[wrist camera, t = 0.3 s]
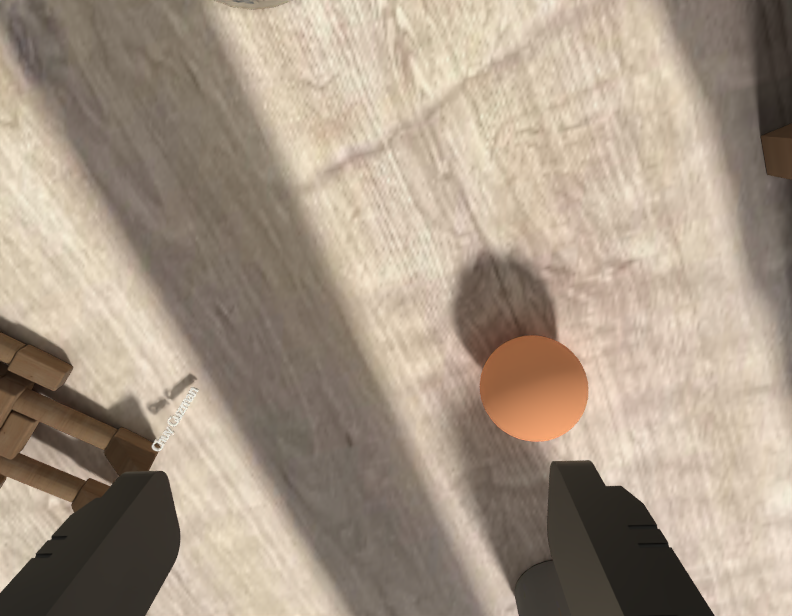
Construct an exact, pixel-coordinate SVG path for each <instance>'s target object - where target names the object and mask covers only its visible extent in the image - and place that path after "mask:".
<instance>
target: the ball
mask: <svg viewBox="0 0 792 616" xmlns="http://www.w3.org/2000/svg"><path fill="white" fill-rule="evenodd" d="M480 394H481V400H482V403H483V405H484V408H485V410H486V412H487V414H488V415H489V417H490V418H491V420H492V421H493V422H494V423H495V424H496V425H497V426H498V427H499V428H500V429H501V430H503V431H504V432H506V433H507V434H509V435H511V436H513V437H515V438H518V439H521V440H526V441H535V442H538V441H547V440H551V439H554V438H557V437H559V436H561V435H563V434H565V433H566V432H568V431H569V430H570V429H571V428H573V426H574V425H575V424H576V423H577V422H578V421H579V419H580V418H581V416H582V414H583V412H584V410H585V407H586V404H587V400H588V381H587V377H586V373H585V371H584V369H583V367H582V365H581V363H580V361H579V360H578V358H577V357H576V356H575V355H574V354H573V353H572V351H570V350H569V349H568V348H567V347H565V346H564V345H562V344H561V343H559V342H557V341H555V340H553V339H550V338H547V337H543V336H533V335H531V336H522V337H517V338H514V339H511V340H509V341H507V342H505V343H504V344H502V345H501V346H499V347H498V348H497V349H496V350H495V351H494V352H493V353H492V354H491V355H490V357H489V358H488V360H487V361H486V363H485V365H484V368H483V370H482V374H481V379H480Z"/></svg>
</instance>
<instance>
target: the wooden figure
mask: <svg viewBox="0 0 792 616" xmlns="http://www.w3.org/2000/svg"><path fill="white" fill-rule="evenodd" d="M0 361H2V362H4V363H7V364H9V366H8V365H6V364H4V363H2V362H0V488H1V487H2V485H3V483H4V482H5V480H6V477H10V478H12V479H15V480H17V481H19V482H22V483H24V484H27V485H29V486H32V487H34V488H37V489H39V490H42V491H44V492H47V493H49V494H52V495H54V496H57V497H59V498H62V499H64V500H67V501H69V502H72V504H71V506H72V509H73V511H74V512H76V511H78V510H79V509H80V508H82V507H83V506H85V505H86V504H88V503H89V502H91V501H92V500H93V499H95V498H101V497H102V496H103V495H104V494H105V492H106V491H107V490H108V489H109V488H110V486H108V485H106V484H103V483H101V482H98V481H96V480H94V479H91V478H89V479H87V481H85V480H83V479H80V478H78V477H75V476H73V475H71V474H68V473H66V472H63V471H61V470H59V469H56V468H54V467H51V466H49V465H47V464H44V463H42V462H39V461H37V460H35V459H32V458H30V457H28V456H25V455H23V454H20V453H19V452H20V451H22V450H23V448H24V446H25V445H26V443H27V442H28V440H29V438H30V437H31V435H32V433H33V432H34V430H35V428H36V427H37V425H38V423H39V422H42V423H44V424H46V425H48V426H51V427H53V428H55V429H57V430H60V431H62V432H64V433H67V434H69V435H71V436H73V437H76V438H78V439H80V440H82V441H85V442H87V443H89V444H92V445H94V446H96V447H98V448H101V449H103V450H105V451H104V453H105V456H106V458H107V459H108V461H109V462H110V463H111V465H112V466H113V468H114V469H115V471H116V472H117V473H118V475H119V476H120V475H121V474H123V473H124V472H136V471H149V469H150V467H151V465H152V463H153V461H154V459H155V457H156V456H157V454H158V452H159V451H161V450H162V448H163V446H164V444H165V443H164V442H166V441H167V439H169V437H170V435H171V434H170V433H172V434H173V435H174V433H175V432H174V431H173V430H172V429H171V428H170V427H169V426H167V429H168V430H165V431H164V432H163V434H165V435H167V437H166V436H164V435H161V437H160V438H159V440H157V439H155V441H154V443H153V442H151V441H149V440H147V439H145V438H143V437H141V436H139V435H138V434H135V433H133V432H131V431H129V430H127V429H125V428H123V427H120V428H119V429H118V430H117V429H116V428H114V427H112V426H109V425H107V424H105V423H103V422H101V421H98V420H96V419H94V418H92V417H90V416H87V415H85V414H83V413H81V412H79V411H76V410H74V409H72V408H70V407H68V406H65V405H63V404H61V403H59V402H57V401H54V400H52V399H50V398H48V397H46V396H43V395H41V394H39V393H37V392H35V391H32V388H33V386H34V384H35V383H37V384H39V385H41V386H43V387H46V388H48V389H50V390H52V391H56V390H57V389H58V388H59V387H61V386H62V385H63V384H64V383H65V381H66V380H67V378H68V376H69V375H70V373H71V371H72V370H73V366H71V365H70V364H68V363H66V362H64V361H62V360H60V359H58V358H56V357H54V356H53V355H51V354H49V353H46V352H44V351H42V350H40V349H38V348H36V347H34V346H32V345H27V346H26V344H24V343H22V342H20V341H18V340H16V339H14V338H12V337H9V336H7V335H5V334H3V333H1V332H0ZM192 390H194V391H196V392H198V390H199V389H197V388H195V387H192V388H191V389H190V391H189V393H188V394H187V396H186V398H185V399H184V401H183V402H182V404H181V405H180V407H179V408H178V410H177V412H176V413H175V414H177V415H179V416H180V417H178V416H176V415H174V417H173V418H175V420H174V421H176V422H177V423H172V422H170V419H171V418H172V416H170V418H169V419H168V424H169V425H171V426H176V425H177V424H178V423H179V420H180V419H181V418H182V416H183V415H184V413H185V411H186V409H187V408H188V407H187V406H185V405H184V404H186V405H188V406H189V405H190V403H188V402H186V400H187V401H189V402H192V400H193V399H194V397H195V396H196V394H197V393H195V392H193V391H192ZM188 396H190V397H189V398H187V397H188ZM191 397H192V398H191ZM182 407H183V408H185V410H184V412H183V409H182ZM179 410H180V411H181V413H179V412H178V411H179ZM161 440H162V441H164V442H161ZM156 443H158V444H161V448H160V446H159V445H157V444H156Z"/></svg>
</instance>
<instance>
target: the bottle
mask: <svg viewBox="0 0 792 616" xmlns="http://www.w3.org/2000/svg"><path fill="white" fill-rule="evenodd" d="M515 599H516V604H517V609H518V614H519V616H571V613H570V610H569V607H568V604H567V601H566V598H565V595H564V592H563V589H562V586H561V583H560V580H559V577H558V574H557V571H556V568H555V565H554V562H553V560H552V561H546V562H543V563H540V564H538V565H535V566H533V567H531V568H530V569H528V570H527V571H526V572H525V573H524V574H523V575H522V576H521V577H520V579H519V580H518V582H517V584H516V588H515Z"/></svg>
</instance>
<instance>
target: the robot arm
mask: <svg viewBox="0 0 792 616" xmlns="http://www.w3.org/2000/svg"><path fill="white" fill-rule="evenodd" d="M215 1H217V2H220V3H223V4H225V5H228V6H231V7H237V8H245V9H252V10H254V9H263V8H271V7H276V6H279V5H281V4H284V3H287V2H289V1H292V0H215ZM547 532H548V541H549V547H550V552H551V556H552V559H553V562H554V565H555V568H556V571H557V574H558V577H559V580H560V583H561V586H562V589H563V592H564V595H565V598H566V601H567V604H568V607H569V610H570V613H571V616H714V614H713V612H712V611H711V609H710V608H709V606H708V605H707V603H706V601H705V600H704V598H703V597H702V595H701V594H700V592H699V590H698V589H697V587H696V586H695V584H694V583H693V581H692V579H691V578H690V576H689V575H688V573H687V571H686V570H685V568H684V567H683V565H682V564H681V562H680V560H679V559H678V557H677V556H676V554H675V553H674V551H673V549H672V548H671V547H669V545H668V542H667V540H666V538H665V537H664V535H663V534H662V532H661V531H660V529H657V524H656V523H655V521H654V519H653V518H652V516H651V515H650V513H649V512H648V510H647V508H646V507H645V505H644V504H643V503H642V502H641V501H640V500H638V499H637V498H636V497H635V496H633V495H632V494H631V493H630V492H628V491H627V490H626V489H624V488H623V487H622V486H605V484H604V482H603V481H602V479H601V477H600V475H599V473H598V472H597V470H596V468H595V466H594V465H593V463H592V462H591V461H589V460H586V461H553V462H552V463H551V466H550V475H549V495H548V516H547ZM179 547H180V528H179V523H178V519H177V514H176V510H175V506H174V501H173V497H172V492H171V488H170V483H169V479H168V477H167V475H166V473H165V472H163V471H136V472H124V473H123V474H121V475H120V476H119V477H118V478H117V480H116V481H115V482H114V483H113V484H112V485H111V487H110V488H109V489H108V490H107V491H106V492H105V494H104V495H103V496H102V497H101V498H95V499H93V500H92V501H91V502H89V503H88V504H86V505H85V506H83V507H82V508H80V509H79V510H78V511H76V512H75V513H73V514H72V515H70V516H69V518H68V519H67V520H66V521H65V522H64V523H63V524H62V525H61V526H60V527H59V529H58V530H57V531H56V532H55V533H54V534H53V535H52V539H51V540H48V541H47V542H46V543H45V544H44V545H43V546H42V547H41V549H40V550H39V551H38V552H37V553H36V557H35V558H31V560H30V561H29V562H28V563H27V564H26V565H25V566H24V567H23V568H22V570H21V571H20V572H19V573H18V574H17V575H16V576H15V577H14V578H13V579H12V581H11V582H10V583H9V584H8V585H7V586H6V587H5V588H4V589H3V591H2V592H1V593H0V616H145V615H146V613H147V612H148V610H149V608H150V606H151V604H152V603H153V601H154V599H155V597H156V595H157V594H158V592H159V590H160V588H161V586H162V585H163V583H164V581H165V579H166V577H167V576H168V574H169V572H170V570H171V568H172V567H173V565H174V563H175V561H176V558H177V555H178V552H179Z"/></svg>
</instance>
